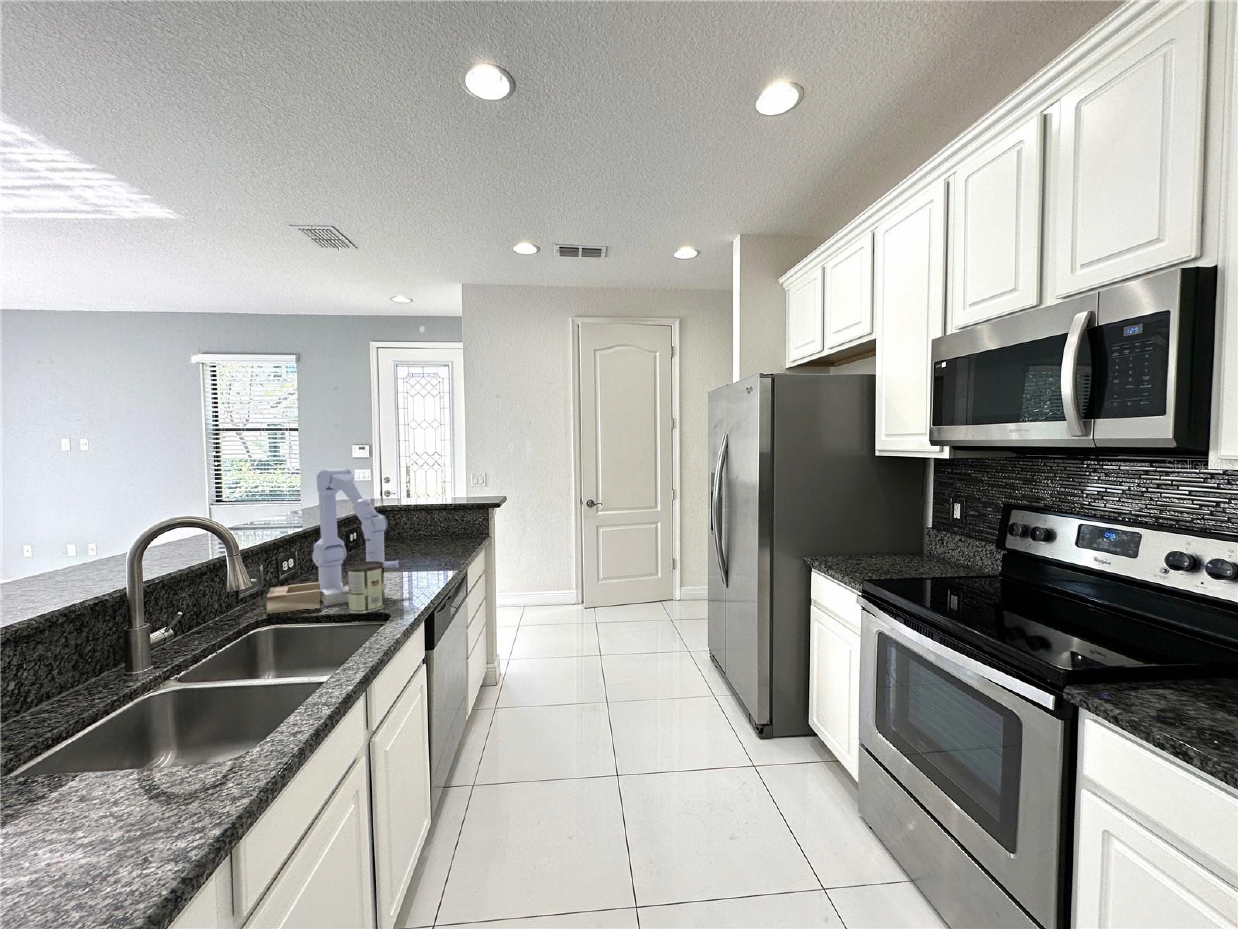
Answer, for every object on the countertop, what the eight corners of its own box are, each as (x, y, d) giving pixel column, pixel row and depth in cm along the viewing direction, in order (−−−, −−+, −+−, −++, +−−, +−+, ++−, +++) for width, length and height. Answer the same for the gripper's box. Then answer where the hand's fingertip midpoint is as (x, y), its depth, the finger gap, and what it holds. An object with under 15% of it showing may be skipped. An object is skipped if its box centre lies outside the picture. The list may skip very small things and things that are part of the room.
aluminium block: (321, 601, 175) (321, 589, 174) (354, 596, 181) (354, 584, 181) (325, 607, 168) (325, 594, 168) (359, 601, 174) (359, 589, 174)
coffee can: (360, 603, 170) (359, 561, 170) (390, 604, 169) (389, 561, 169) (340, 613, 160) (339, 568, 160) (372, 614, 159) (371, 568, 159)
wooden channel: (271, 604, 170) (270, 587, 170) (320, 598, 177) (319, 582, 177) (267, 615, 159) (266, 597, 159) (319, 608, 166) (319, 590, 166)
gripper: (352, 555, 172) (353, 596, 173) (399, 550, 179) (400, 589, 180) (351, 551, 178) (352, 591, 179) (396, 547, 186) (397, 585, 186)
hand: (376, 590), depth 180 cm, fingers closed
